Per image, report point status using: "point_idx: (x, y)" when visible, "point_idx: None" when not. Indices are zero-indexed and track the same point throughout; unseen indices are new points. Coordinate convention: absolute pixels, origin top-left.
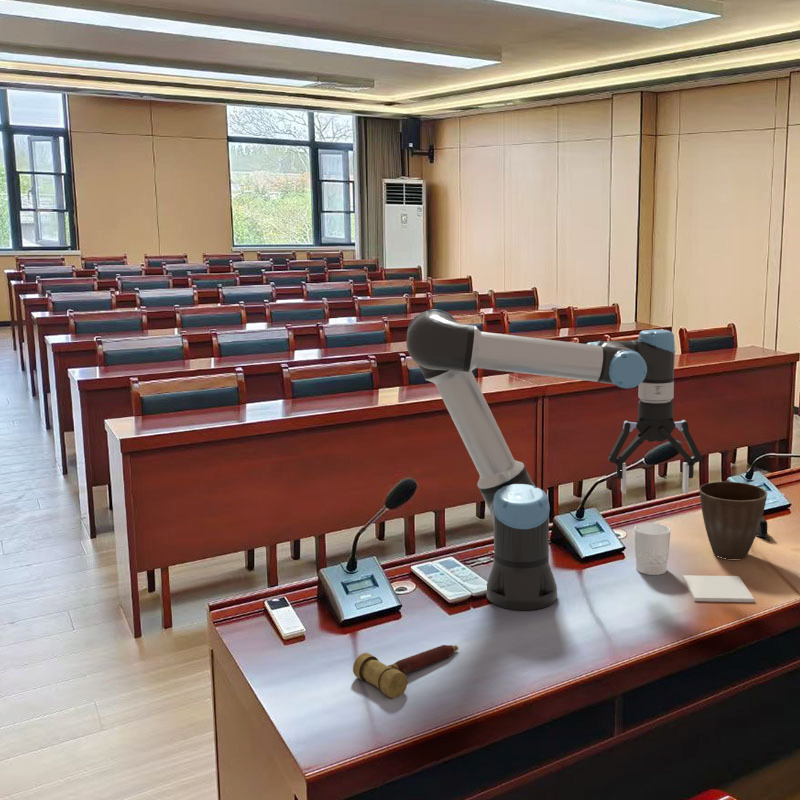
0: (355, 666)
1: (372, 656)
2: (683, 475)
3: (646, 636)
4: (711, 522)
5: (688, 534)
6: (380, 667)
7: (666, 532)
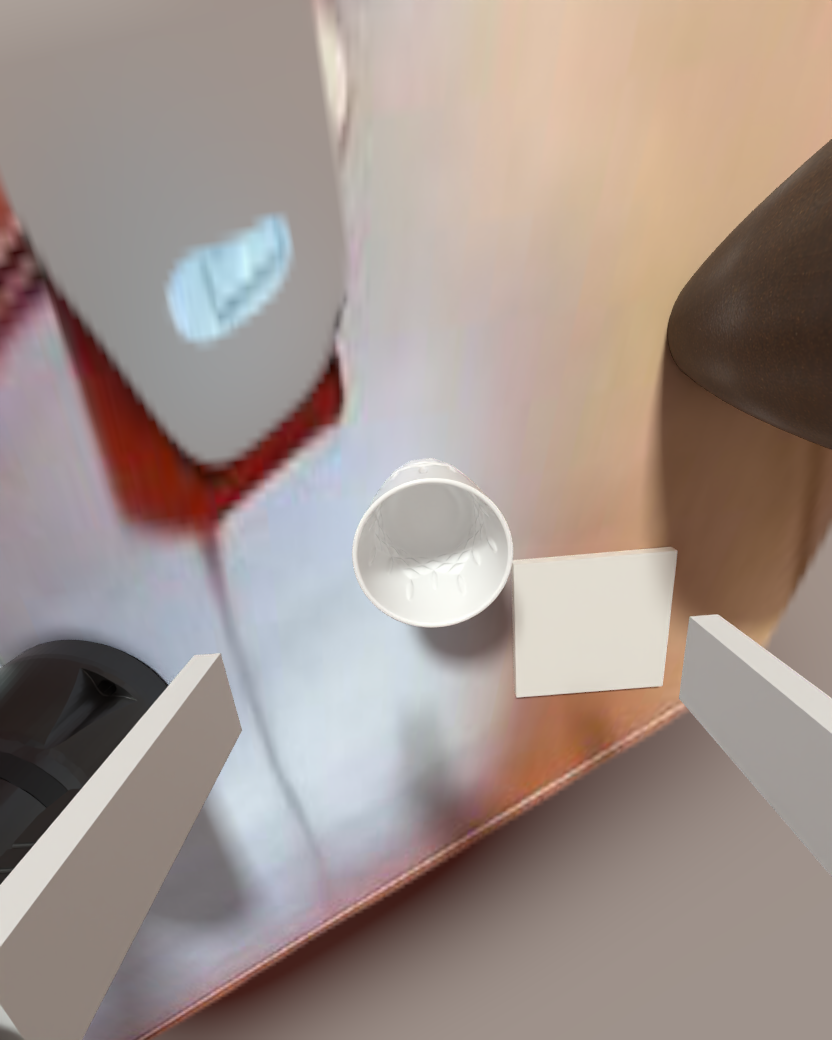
0: None
1: None
2: (809, 762)
3: (388, 840)
4: (744, 387)
5: (634, 52)
6: None
7: (496, 520)
